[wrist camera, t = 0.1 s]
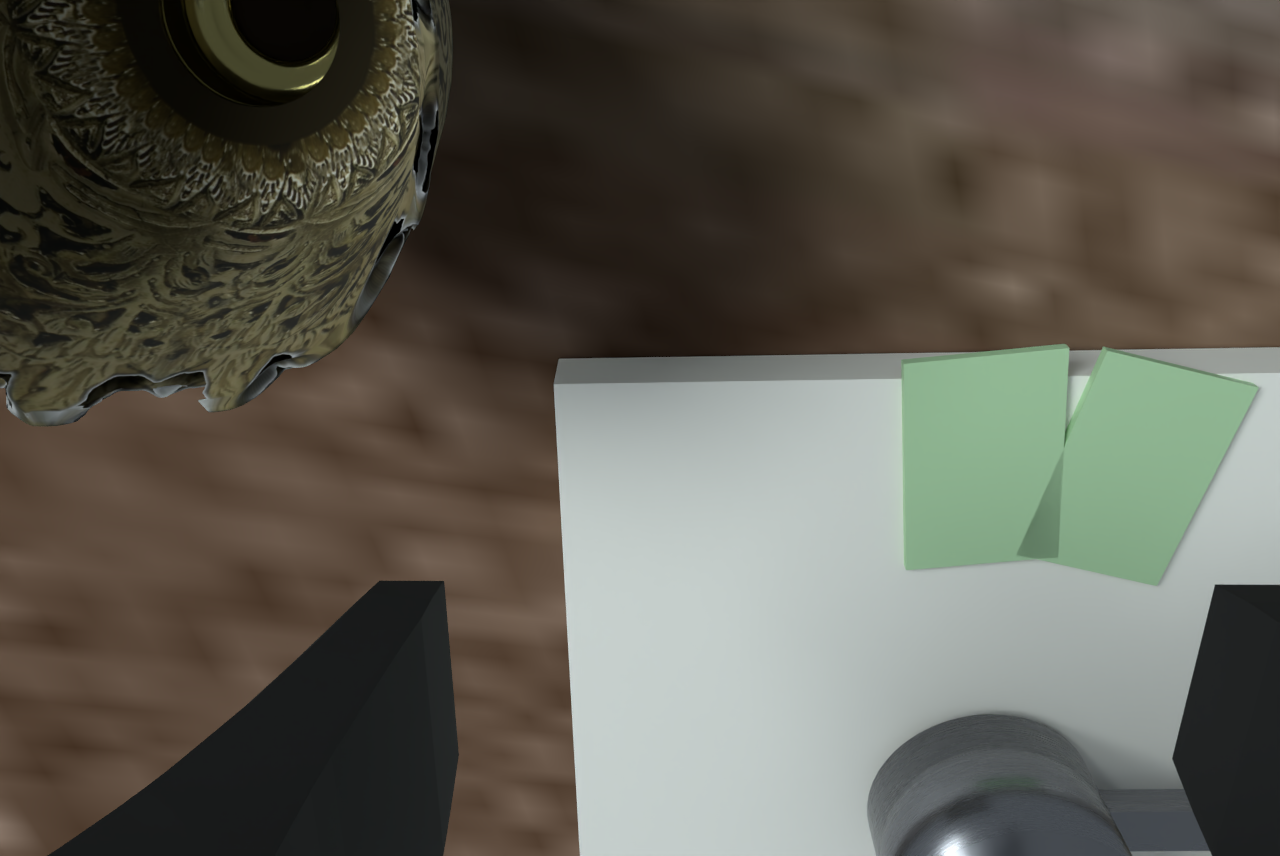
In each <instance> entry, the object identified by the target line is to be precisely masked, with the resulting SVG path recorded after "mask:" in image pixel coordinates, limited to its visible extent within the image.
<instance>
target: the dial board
mask: <svg viewBox="0 0 1280 856" xmlns="http://www.w3.org/2000/svg"><path fill="white" fill-rule="evenodd" d="M554 400H555V418H556V435H557V453H558V471H559V489H560V507H561V525H562V543H563V561H564V578H565V596H566V614H567V632H568V650H569V668H570V686H571V704H572V721H573V739H574V757H575V775H576V793H577V811H578V829H579V846H580V856H876V853H875V849H874V845H873V841H872V837H871V832H870V828H869V823H868V818H867V802H868V796H869V792H870V789H871V786H872V783H873V781H874V779H875V777H876V775H877V773H878V771H879V770H880V768H881V767H882V765H883V764H884V763H885V761H886V760H887V759H888V758H889V757H890V756H891V755H892V754H893V752H894V751H895V750H897V749H898V748H899V747H900V746H901V745H903V744H904V743H905V742H906V741H908V740H909V739H911V738H912V737H914V736H915V735H917V734H919V733H921V732H923V731H924V730H926V729H928V728H930V727H933V726H935V725H938V724H940V723H943V722H946V721H949V720H953V719H957V718H961V717H967V716H973V715H985V714H998V715H1010V716H1016V717H1022V718H1025V719H1029V720H1033V721H1035V722H1038V723H1040V724H1043V725H1045V726H1047V727H1049V728H1051V729H1052V730H1054V731H1056V732H1058V733H1059V734H1060V735H1062V736H1063V737H1064V738H1065V739H1067V740H1068V741H1069V742H1070V743H1071V744H1072V745H1073V746H1074V747H1075V748H1076V750H1077V751H1078V753H1079V754H1080V756H1081V757H1082V759H1083V760H1084V762H1085V764H1086V766H1087V768H1088V770H1089V772H1090V774H1091V776H1092V778H1093V780H1094V782H1095V784H1096V786H1097V788H1098V790H1130V789H1184V788H1183V785H1182V783H1181V780H1180V778H1179V775H1178V773H1177V770H1176V767H1175V765H1174V762H1173V760H1172V757H1173V753H1174V749H1175V745H1176V741H1177V737H1178V732H1179V728H1180V724H1181V720H1182V716H1183V712H1184V708H1185V704H1186V700H1187V696H1188V692H1189V688H1190V684H1191V680H1192V676H1193V672H1194V668H1195V664H1196V660H1197V655H1198V651H1199V647H1200V643H1201V639H1202V635H1203V631H1204V627H1205V623H1206V619H1207V615H1208V611H1209V607H1210V603H1211V599H1212V595H1213V591H1214V587H1215V584H1224V585H1280V347H1266V348H1203V349H1140V350H1115V349H1111V348H1107V347H1103V348H1102V350H1077V351H1069V347H1068V346H1067V345H1066V344H1058V345H1048V346H1037V347H1027V348H1016V349H1006V350H996V351H985V352H951V353H887V354H824V355H761V356H698V357H635V358H572V359H559V360H558V365H557V370H556V375H555V380H554ZM1131 854H1132V856H1212V854H1211V852H1210V851H1138V852H1131Z"/></svg>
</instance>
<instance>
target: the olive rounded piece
mask: <svg viewBox="0 0 1280 856" xmlns="http://www.w3.org/2000/svg"><path fill="white" fill-rule="evenodd" d="M335 4H336V21H335V26H334V29H333V32H332V35H331V37H330V39H329V40H328V42H327V43H326V44H325V46H324V47H323V48H322V49H321V50H320V51H319V52H317V53H316V54H314V55H312V56H311V57H308V58H306V59H302V60H298V61H284V60H278V59H275V58H272V57H270V56H267V55H265V54H264V53H262V52H260V51H259V50H258V49H256V48H255V47H254V46H253V45H252V44H251V43H250V42H249V41H248V40H247V39H246V38H245V36H244V35H243V34H242V32H241V30H240V29H239V27H238V25H237V23H236V20H235V17H234V14H233V10H232V2H231V0H0V388H5V389H6V395H8V396H6V398H7V400H6V403H7V408H8V409H9V411H10V412H11V413H12V414H14V415H15V416H16V417H18V418H19V419H20V420H22V421H23V422H25V423H27V424H29V425H32V426H58V425H64V424H69V423H73V422H76V421H78V420H79V419H80V418H81V417H83V416H84V415H85V414H86V413H87V411H88V410H89V409H90V408H91V407H92V406H94V405H95V404H97V403H99V402H101V401H102V400H103V399H105V398H107V397H109V396H111V395H112V394H113V393H116V392H118V391H139V390H144V391H148V392H149V393H151V394H154V395H155V396H157V397H167V396H168V395H171V394H173V393H176V392H178V391H181V390H184V389H187V388H198V387H205V390H204V391H203V394H204V396H205V397H206V398H207V399H202V400H198V401H199V402H200V403H201V404H202V406H204V407H205V408H206V410H207V411H208V412H219V411H225V410H231V409H234V408H237V407H239V406H242V405H244V404H246V403H247V402H249V401H250V400H252V399H254V398H255V397H257V396H258V395H259V394H261V393H262V392H263V391H264V390H265V389H266V388H267V387H269V385H270V384H271V383H273V381H275V380H276V379H277V378H278V377H279V376H280V375H281V373H282V372H283V371H284V370H285V369H290V368H293V367H295V368H299V367H306V366H308V365H310V364H312V363H315V362H317V361H319V360H320V359H322V358H323V357H325V356H326V355H328V354H329V353H331V352H332V351H334V350H335V349H337V348H338V347H339V346H340V345H341V344H342V343H343V342H344V341H345V340H346V339H347V338H348V337H349V336H350V335H351V334H352V333H353V332H354V331H355V329H356V328H357V327H358V325H359V324H360V322H361V321H362V320H363V318H364V317H365V315H366V314H367V312H368V311H369V309H370V307H371V306H372V304H373V303H374V301H375V299H376V298H377V296H378V294H379V293H380V291H381V289H382V288H383V286H384V285H385V283H386V281H387V280H388V278H389V276H390V274H391V271H392V269H393V266H394V264H395V262H396V260H397V257H398V255H399V253H400V251H401V249H402V247H403V245H404V243H405V241H406V239H407V237H408V235H409V232H410V230H411V228H412V227H413V230H414V229H415V228H416V226H417V225H418V224H419V222H420V220H421V218H422V215H423V211H424V208H425V205H426V200H427V195H428V190H429V184H430V175H431V170H432V167H433V163H434V159H435V156H436V152H437V148H438V145H439V141H440V137H441V134H442V130H443V126H444V122H445V118H446V113H447V107H448V100H449V94H450V88H451V79H452V60H453V38H452V22H451V12H450V6H449V0H335Z"/></svg>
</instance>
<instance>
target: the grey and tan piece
mask: <svg viewBox="0 0 1280 856" xmlns="http://www.w3.org/2000/svg"><path fill="white" fill-rule="evenodd" d="M867 818H868V823H869V828H870V832H871V837H872V841H873V845H874V849H875V853H876V856H1132V854H1131V852H1138V851H1210V850H1209V848H1208V845H1207V843H1206V841H1205V838H1204V836H1203V834H1202V832H1201V829H1200V827H1199V825H1198V822H1197V820H1196V818H1195V816H1194V813H1193V811H1192V808H1191V806H1190V803H1189V801H1188V798H1187V795H1186V793H1185V790H1184V789H1130V790H1098V788H1097V786H1096V784H1095V782H1094V780H1093V778H1092V776H1091V774H1090V772H1089V770H1088V768H1087V766H1086V764H1085V762H1084V760H1083V759H1082V757H1081V756H1080V754H1079V753H1078V751H1077V750H1076V748H1075V747H1074V746H1073V745H1072V744H1071V743H1070V742H1069V741H1068V740H1067V739H1065V738H1064V737H1063V736H1062V735H1060V734H1059V733H1058V732H1056V731H1054V730H1052V729H1051V728H1049V727H1047V726H1045V725H1043V724H1040V723H1038V722H1035V721H1033V720H1029V719H1025V718H1022V717H1016V716H1010V715H998V714H985V715H973V716H967V717H961V718H957V719H953V720H949V721H946V722H943V723H940V724H938V725H935V726H933V727H930V728H928V729H926V730H924V731H923V732H921V733H919V734H917V735H915V736H914V737H912V738H911V739H909V740H908V741H906V742H905V743H904V744H903V745H901V746H900V747H899V748H898V749H897V750H895V751H894V752H893V754H892V755H891V756H890V757H889V758H888V759H887V760H886V761H885V763H884V764H883V765H882V767H881V768H880V770H879V771H878V773H877V775H876V777H875V779H874V781H873V783H872V786H871V789H870V792H869V796H868V802H867Z"/></svg>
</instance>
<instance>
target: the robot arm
mask: <svg viewBox="0 0 1280 856" xmlns="http://www.w3.org/2000/svg"><path fill="white" fill-rule="evenodd" d="M458 756H459V753H458V741H457V730H456V718H455V706H454V694H453V682H452V670H451V658H450V646H449V635H448V623H447V611H446V599H445V587H444V581H379V582H378V583H377V584H376V585H374V586H373V587H372V588H371V589H370V590H369V591H368V592H367V593H366V594H365V595H364V596H363V597H361V598H360V599H359V600H358V601H357V602H356V603H355V604H354V605H353V606H352V607H351V608H350V609H349V610H348V611H347V612H345V613H344V614H343V615H342V616H341V617H340V618H339V619H338V620H337V621H336V622H335V623H334V624H333V625H332V626H331V627H330V628H329V629H328V630H327V631H326V632H325V633H324V634H323V635H322V636H320V637H319V638H318V639H317V640H316V641H315V642H314V643H313V644H312V645H311V646H310V647H309V648H308V649H307V650H306V651H305V652H304V653H303V654H302V655H301V656H300V657H298V658H297V659H296V660H295V661H294V662H293V663H292V664H291V665H290V666H289V667H288V668H287V669H286V670H284V671H283V672H282V673H281V674H280V675H279V676H278V677H277V678H276V679H275V680H274V681H272V682H271V683H270V684H269V685H268V686H267V687H266V688H265V689H264V690H263V691H261V692H260V693H259V694H258V695H257V696H256V697H255V698H254V699H253V700H252V701H250V702H249V703H248V704H247V705H246V706H245V707H244V708H243V709H242V710H240V711H239V712H238V713H237V714H235V715H234V716H233V717H232V718H231V719H229V720H228V721H227V722H226V723H225V724H223V725H222V726H221V727H220V728H219V729H217V730H216V731H215V732H214V733H212V734H211V735H210V736H209V737H208V738H206V739H205V740H204V741H203V742H202V743H200V744H199V745H198V746H197V747H196V748H194V749H193V750H192V751H191V752H190V753H188V754H187V755H186V756H185V757H183V758H182V759H181V760H180V761H179V762H177V763H176V764H175V765H174V766H173V767H171V768H170V769H169V770H168V771H166V772H165V773H164V774H162V775H161V776H160V777H159V778H157V779H156V780H155V781H153V782H152V783H151V784H149V785H148V786H147V787H145V788H144V789H143V790H141V791H140V792H139V793H137V794H136V795H135V796H133V797H132V798H130V799H129V800H128V801H126V802H125V803H124V804H122V805H121V806H120V807H118V808H117V809H115V810H114V811H112V812H111V813H110V814H108V815H107V816H105V817H104V818H102V819H101V820H99V821H98V822H96V823H95V824H94V825H92V826H91V827H89V828H88V829H86V830H85V831H83V832H82V833H80V834H79V835H78V836H76V837H75V838H73V839H72V840H70V841H69V842H67V843H66V844H64V845H63V846H62V847H60V848H59V849H57V850H56V851H54V852H52V853H51V854H49V855H48V856H443V853H444V847H445V841H446V835H447V829H448V822H449V816H450V810H451V803H452V797H453V790H454V783H455V776H456V769H457V762H458ZM1172 760H1173V762H1174V765H1175V767H1176V770H1177V773H1178V775H1179V778H1180V780H1181V783H1182V785H1183V788H1184V790H1185V793H1186V795H1187V798H1188V801H1189V803H1190V806H1191V808H1192V811H1193V813H1194V816H1195V818H1196V820H1197V822H1198V825H1199V827H1200V829H1201V832H1202V834H1203V836H1204V838H1205V841H1206V843H1207V845H1208V848H1209V850H1210V852H1211V854H1212V856H1280V585H1224V584H1215V587H1214V591H1213V595H1212V599H1211V603H1210V607H1209V611H1208V615H1207V619H1206V623H1205V627H1204V631H1203V635H1202V639H1201V643H1200V647H1199V651H1198V655H1197V660H1196V664H1195V668H1194V672H1193V676H1192V680H1191V684H1190V688H1189V692H1188V696H1187V700H1186V704H1185V708H1184V712H1183V716H1182V720H1181V724H1180V728H1179V732H1178V737H1177V741H1176V745H1175V749H1174V753H1173V757H1172Z"/></svg>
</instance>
